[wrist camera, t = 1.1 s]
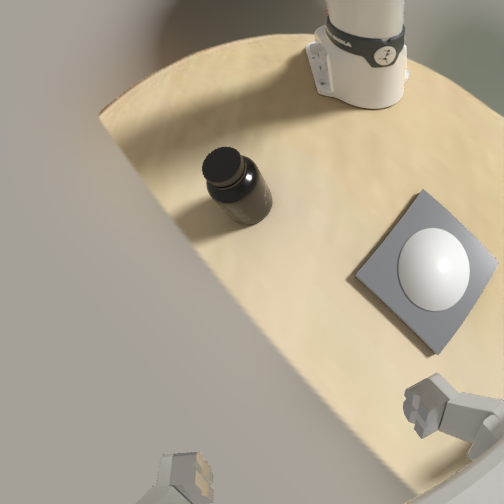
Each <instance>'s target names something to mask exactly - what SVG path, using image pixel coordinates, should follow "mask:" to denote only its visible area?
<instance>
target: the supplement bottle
mask: <svg viewBox="0 0 504 504" xmlns="http://www.w3.org/2000/svg"><path fill="white" fill-rule="evenodd" d="M202 171H203V175H204V177H205V179H206V180H207V182H206V185H207V190H208V193H209V194H210V196H211V197H212V198H213V199H214V200H215V201H216V203H217V204H218V205H219V206H220V207H221V208H222V209H223V210H224V211H225V212H226V213H227V214H228V215H229V216H230V217H232V218H233V219H234V220H235V221H236V222H238V223H241V224H246V225H250V224H255V223H258V222H260V221H261V220H263V219H264V218H265V217H266V216H267V215H268V213H269V212H270V210H271V207H272V195H271V192H270V190H269V188H268V186H267V184H266V182H265V180H264V179H263V177H262V175H261V173H260V171H259V169H258V167H257V166H256V164H255V163H254V162H253V161H252V160H251V159H250V158H248V157H246V156H243V155H240V153H239V152H238V151H237V150H236V149H234V148H231V147H221V148H218V149H215V150H214V151H212V152H211V153H209V154H208V156H207V157H206V159H205V160H204V162H203V166H202Z"/></svg>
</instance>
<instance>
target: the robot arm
mask: <svg viewBox="0 0 504 504" xmlns="http://www.w3.org/2000/svg"><path fill="white" fill-rule="evenodd" d="M326 2H327V7H328V9H327V10H325V11H328V13H326V15H328V17H327V21H326V24H325V25H324V26H322V27H320V28H318V29H317V30H316V31H315V41H313V42H311V43H309V44H308V45H307V46H306V53H307V57H308V60H309V63H310V67H311V70H312V74H313V77H314V81H315V84H316V88H317V91H318V93H319V94H321V95H324V96H330V97H336V98H338V99H340V100H342V101H344V102H346V103H348V104H351V105H354V106H357V107H361V108H369V109H379V108H385V107H389V106H391V105H393V104H395V103H397V102H398V101H399V100H400V99H401V97H402V96H403V93H404V84H405V82H406V81H407V80H408V79H409V71H408V70H407V69H406V46H405V45H404V41H405V27H404V25H403V15H404V0H326ZM404 396H405V397H406V400H405V401H404V403H403V410H404V414H405V416H406V418H407V420H408V421H409V422H411V423H414V424H415V426H414V430H415V431H416V432H417V434H418V435H419V436H420V438H421V439H423V438H425V437H427V436H428V435H430V434H432V433H434V432H435V431H437V430H439V431H441V432H443V433H446V434H448V435H451V436H454V437H456V438H459V439H461V440H464V441H467V442H470V443H472V446H471V448H470V449H469V451H468V454H467V456H468V458H469V459H470V460H471V463H469V464H468V465H466V466H465V467H464V468H462V469H461V470H459V471H458V472H456V473H455V474H454V475H452V476H451V477H449V478H447V479H446V480H444V481H443V482H441V483H440V484H438V485H436V486H435V487H433V488H431V489H429V490H428V491H426V492H424V493H422V494H421V495H419V496H417V497H415V498H413V499H411V500H409V501H407V502H406V503H404V504H504V400H502V399H496V398H490V397H485V396H479V395H474V394H469V393H464V392H462V393H460V394H459V393H458V392H457V391H456V390H455V389H454V388H453V387H452V386H451V385H450V384H449V383H448V382H447V381H446V380H445V379H444V378H443V377H442V376H441V375H440V374H439V373H435V374H433V375H432V376H430V377H428V378H426V379H424V380H422V381H420V382H418V383H417V384H415V385H413V386H411V387H409V388H407V389H406V390H405V394H404ZM212 482H213V473H212V469H211V467H210V465H209V463H208V462H207V461H204V460H203V455H202V454H201V453H200V452H191V453H178V454H163V455H162V456H161V459H160V465H159V471H158V478H157V484H156V486H152V488H151V489H150V490H149V491H148V492H147V493H146V494H145V495H144V496H143V497H142V498H141V499H140V500H139V501H138V502H137V503H136V504H209V503H214V500H213V499H214V498H213V489H212V488H211V487H210V485H211V484H212Z"/></svg>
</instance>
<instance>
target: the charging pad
mask: <svg viewBox="0 0 504 504" xmlns="http://www.w3.org/2000/svg"><path fill="white" fill-rule="evenodd" d="M498 263H499V262H498V261H497V260H496V259H495V258H494V257H493V256H492V255H491V253H490V252H489V251H488V250H487V249H486V248H485V247H484V246H483V245H482V244H481V243H480V242H479V241H478V240H477V238H476V237H475V236H474V235H473V234H472V233H471V232H470V231H469V230H468V229H467V228H466V227H465V226H464V225H463V224H462V223H460V222H459V221H458V220H457V219H456V218H455V217H454V216H453V215H452V214H451V213H450V212H449V211H448V210H447V209H445V208H444V207H443V206H442V205H441V204H440V203H439V202H438V201H437V200H435V199H434V198H433V197H432V196H431V195H430V194H428V193H427V192H426V191H425V190H424V189H422V191H421V192H420V194H419V195H418V196H417V198H416V199H415V201H414V202H413V203H412V205H411V206H410V207H409V209H408V210H407V211H406V213H405V214H404V215H403V217H402V218H401V219H400V221H399V222H398V223H397V225H396V226H395V227H394V228H393V230H392V231H391V232H390V234H389V235H388V236H387V237H386V239H385V240H384V241H383V242H382V244H381V245H380V246H379V247H378V248H377V250H376V251H375V252H374V253H373V255H372V256H371V257H370V258H369V259H368V261H367V262H366V263H365V264H364V265H363V267H362V268H361V269H360V270H359V271H358V272H357V274H356V275H355V277H356V278H357V279H358V280H359V281H360V282H361V283H362V284H364V285H365V286H366V287H367V288H368V289H369V290H370V291H371V292H372V293H373V294H374V295H375V296H377V297H378V298H379V299H380V300H381V301H382V302H383V303H384V304H385V305H386V306H387V307H388V308H389V309H390V310H391V311H392V312H393V313H394V314H395V315H397V316H398V317H399V318H400V319H401V320H402V321H403V322H404V323H405V324H406V325H407V326H408V327H409V328H410V329H411V330H412V331H413V332H414V333H415V334H416V335H417V336H418V337H419V338H420V339H421V340H422V341H423V342H424V343H425V344H426V345H427V346H428V347H429V348H430V349H431V350H432V351H433V352H434V353H435V354H437V355H439V354H440V352H441V351H442V350H443V349H444V347H445V346H446V345H447V343H448V342H449V341H450V339H451V338H452V337H453V335H454V334H455V333H456V331H457V330H458V329H459V327H460V326H461V324H462V323H463V321H464V320H465V318H466V317H467V315H468V314H469V312H470V311H471V309H472V308H473V306H474V305H475V303H476V302H477V300H478V298H479V297H480V295H481V294H482V292H483V290H484V288H485V287H486V285H487V283H488V282H489V280H490V278H491V276H492V274H493V273H494V271H495V269H496V267H497V265H498Z"/></svg>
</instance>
